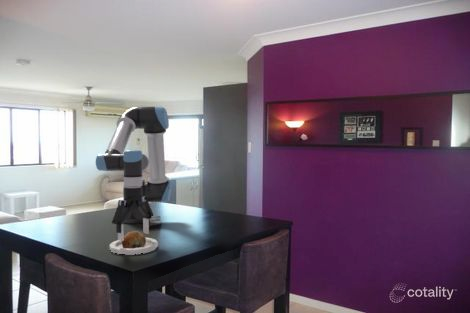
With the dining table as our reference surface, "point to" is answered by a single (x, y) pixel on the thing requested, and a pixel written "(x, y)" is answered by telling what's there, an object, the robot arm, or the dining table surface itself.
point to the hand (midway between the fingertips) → (133, 236)
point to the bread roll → (134, 240)
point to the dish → (118, 248)
